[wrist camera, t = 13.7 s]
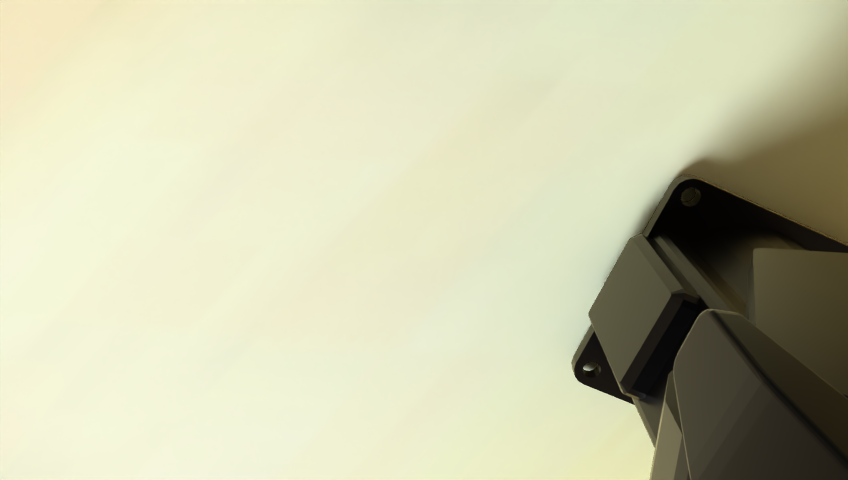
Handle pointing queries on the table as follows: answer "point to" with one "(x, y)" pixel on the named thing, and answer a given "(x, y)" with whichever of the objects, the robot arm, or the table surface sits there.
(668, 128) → the table surface
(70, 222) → the table surface
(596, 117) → the table surface
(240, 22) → the table surface
